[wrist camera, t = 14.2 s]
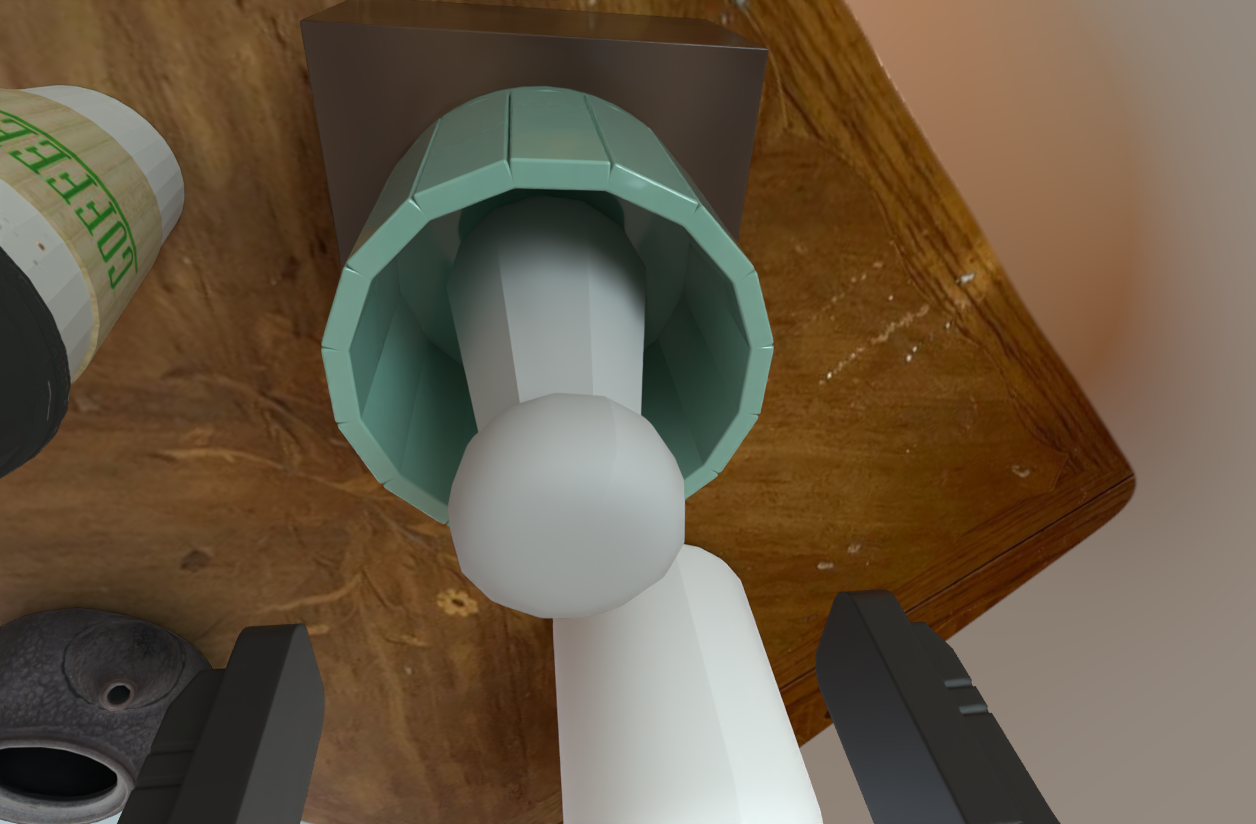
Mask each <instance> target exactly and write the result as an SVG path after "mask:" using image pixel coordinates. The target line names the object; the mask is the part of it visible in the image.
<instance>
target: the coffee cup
mask: <svg viewBox="0 0 1256 824" xmlns="http://www.w3.org/2000/svg"><path fill="white" fill-rule="evenodd" d="M184 200H185V194H184V182H183V178H182V174H181V170H180V167H179V165H178V163H177V161H176V158H175V156H174V154H173V152H172V151H171V149H170V148H169V146H168V145H167V143H166V142H165V140H164V139H163V137H162V136H161V135H160V134H159V133H158V132H157V131H156V130H155V129H154V128H153V127H152V125H151V124H150V123H149V122H147V121H146V120H145V119H144V118H143V117H141V116H140V115H139V114H138V113H136V112H135V111H134V110H133V109H131V108H129V107H128V106H126V105H124V104H123V103H121V102H119V101H118V100H116V99H114V98H111V97H109V96H107V95H104V94H102V93H100V92H97V91H94V90H90V89H85V88H81V87H77V86H63V85H56V86H47V87H38V88H29V89H20V90H16V89H3V88H0V479H1V478H2V477H4V476H5V475H7V474H9V473H10V472H12V471H13V470H15V469H17V468H18V467H20V466H22V465H23V464H24V463H26V462H27V461H29V460H31V459H32V458H34V457H35V456H36V455H37V454H38V453H39V452H40V451H41V450H42V449H43V448H44V447H45V446H46V445H47V444H48V443H49V442H50V441H51V439H52V438H53V437H54V436H55V435H56V433H57V431H58V429H59V427H60V425H61V423H62V421H63V418H64V416H65V414H66V412H67V409H68V402H69V395H70V387H71V385H72V384H73V382H74V381H75V380H76V379H77V378H78V377H79V376H80V375H81V374H82V373H83V371H84V370H85V369H86V368H87V367H88V365H89V363H90V362H91V360H92V359H93V357H94V356H95V354H96V353H97V351H98V350H99V348H100V347H101V345H102V343H103V342H104V340H105V339H106V337H107V336H108V334H109V333H110V331H111V330H112V328H113V326H114V325H115V323H116V322H117V320H118V319H119V317H120V316H121V314H122V313H123V311H124V310H125V308H126V306H127V305H128V303H129V302H130V300H131V299H132V297H133V296H134V294H135V293H136V291H137V290H138V288H139V286H140V285H141V283H142V282H143V280H144V279H145V277H146V276H147V274H148V273H149V271H150V270H151V268H152V266H153V264H154V262H155V260H156V258H157V256H158V254H159V251H160V247H161V246H162V244H163V243H164V241H165V240H166V238H167V237H168V235H169V234H170V232H171V231H172V229H173V228H174V226H175V225H176V223H177V221H178V219H179V217H180V215H181V213H182V210H183V205H184Z"/></svg>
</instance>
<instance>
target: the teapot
mask: <svg viewBox="0 0 1256 824" xmlns="http://www.w3.org/2000/svg"><path fill="white" fill-rule="evenodd" d="M200 670H212V667H211V665H210V663H209V662H208V661H207V660H206V659H205V658H204V657H203V656H202V654H201V653H200V652H199V651H198V650H197V649H196V648H195V647H194V646H193V645H192V644H191V643H189V642H187V641H186V640H184V639H183V638H181V637H180V636H178V635H176V634H175V633H173V632H171V631H169V630H167V629H165V628H163V627H160V626H158V625H156V624H154V623H151V622H148V621H145V620H141V619H138V618H135V617H132V616H129V615H123V614H116V613H110V612H105V611H100V610H95V609H84V608H71V609H58V610H49V611H41V612H38V613H34V614H31V615H28V616H24V617H21V618H19V619H17V620H14V621H12V622H10V623H8V624H6V625H4V626H2V627H0V820H4V821H8V822H13V823H17V824H90V823H95V822H99V821H101V820H104V819H106V818H109V817H111V816H114V815H116V814H118V813H119V812H121V811H122V810H123V809H124V807H125V804H126V802H127V800H128V797H129V795H130V793H131V791H132V790H134V789H135V787H136V779H137V777H138V775H139V772H140V770H141V768H142V765H143V763H144V761H145V758H146V756H147V755H149V754H150V752H151V745H152V742H153V740H154V738H155V736H156V733H157V731H158V729H159V726H160V724H161V722H162V720H163V717H164V715H165V713H166V710H167V708H168V706H169V705H170V704H171V703H172V701H173V700H174V699H175V698H176V697H177V696H178V695H179V694H180V692H181V691H182V690H183V689H184V688H185V687H186V686H187V685H188V683H189V682H190V681H191V680H192V679H193V678H194V677H195V675H196V674H197V673H198V672H199V671H200Z"/></svg>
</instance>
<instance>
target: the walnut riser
mask: <svg viewBox="0 0 1256 824" xmlns="http://www.w3.org/2000/svg"><path fill="white" fill-rule="evenodd" d="M300 26H301V32H302V37H303V43H304V49H305V55H306V61H307V67H308V73H309V79H310V85H311V91H312V97H313V103H314V109H315V114H316V120H317V126H318V132H319V138H320V144H321V150H322V156H323V162H324V168H325V174H326V180H327V186H328V192H329V197H330V203H331V209H332V215H333V221H334V227H335V233H336V239H337V245H338V251H339V257H340V263H341V269H342V270H343V267H344V265H345V263H346V261H347V259H348V257H349V255H350V253H351V251H352V249H353V247H354V245H355V243H356V241H357V239H358V237H359V235H360V233H361V231H362V229H363V227H364V225H365V223H366V221H367V219H368V217H369V215H370V213H371V211H372V209H373V207H374V205H375V203H376V201H377V199H378V197H379V195H380V193H381V191H382V189H383V187H384V185H385V183H386V181H387V179H388V177H389V175H390V173H391V172H392V170H393V168H394V166H395V165H396V164H397V163H398V162H399V161H400V160H401V159H402V158H403V157H404V155H405V153H406V152H407V151H408V150H409V148H410V147H411V146H412V145H413V143H414V142H415V141H416V140H417V138H418V137H419V136H420V135H421V134H422V133H423V132H424V131H425V130H427V129H428V128H429V127H430V126H431V125H432V124H433V123H434V122H435V121H436V120H438V119H439V118H441V117H442V116H444V115H445V114H447V113H448V112H450V111H451V110H453V109H454V108H456V107H458V106H460V105H462V104H464V103H466V102H468V101H470V100H472V99H474V98H477V97H480V96H483V95H486V94H489V93H492V92H496V91H499V90H505V89H511V88H517V87H532V86H548V87H556V88H565V89H571V90H575V91H579V92H582V93H586V94H590V95H593V96H595V97H598V98H600V99H602V100H605V101H607V102H610V103H612V104H614V105H616V106H617V107H619V108H621V109H622V110H624V111H626V112H628V113H629V114H631V115H633V116H634V117H635V118H636V119H638V120H639V121H640V122H642V123H644V124H645V125H646V126H647V127H648V128H651V129H652V131H653V132H654V133H655V134H656V136H657V137H658V138H659V139H660V140H661V141H662V142H663V143H664V145H665V146H666V147H667V148H668V150H669V151H670V153H671V154H672V155H673V156H674V157H675V159H676V160H677V161H678V162H679V164H680V165H681V166H682V167H683V168H684V170H685V171H686V172H687V173H688V175H689V176H690V177H691V179H692V180H693V181H694V183H695V184H696V186H697V187H698V188H699V190H700V191H701V193H702V194H703V195H704V197H705V198H706V200H707V201H708V203H709V204H710V205H711V207H712V208H713V210H714V211H715V212H716V214H717V215H718V217H719V218H720V219H721V221H722V222H723V224H724V225H725V226H726V228H727V229H728V231H729V232H730V233H731V235H732V236H733V238H734V239H735V240H736V242H737V243H738V236H739V230H740V224H741V218H742V211H743V205H744V199H745V193H746V187H747V180H748V174H749V168H750V162H751V155H752V149H753V143H754V137H755V131H756V124H757V118H758V112H759V106H760V100H761V93H762V87H763V81H764V75H765V68H766V62H767V56H768V48H766V47H764V46H762V45H759V44H757V43H755V42H753V41H751V40H749V39H747V38H745V37H743V36H740V35H738V34H736V33H734V32H732V31H730V30H728V29H726V28H724V27H721V26H719V25H717V24H715V23H713V22H711V21H709V20H707V19H692V18H676V17H661V16H646V15H631V14H616V13H600V12H585V11H570V10H555V9H540V8H524V7H509V6H494V5H479V4H464V3H448V2H433V1H418V0H346V1H344V2H342V3H340V4H337V5H335V6H333V7H330V8H328V9H326V10H323V11H321V12H319V13H317V14H314V15H312V16H310V17H307V18H305V19H303V20H300Z"/></svg>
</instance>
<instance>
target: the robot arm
mask: <svg viewBox="0 0 1256 824" xmlns="http://www.w3.org/2000/svg"><path fill="white" fill-rule="evenodd" d="M816 674H817V680H818V684H819V688H820V691H821V693H822V696H823V698H824V701H825V703H826V706H827V708H828V711H829V713H830V716H831V718H832V721H833V723H834V725H835V728H836V730H837V733H838V735H839V738H840V740H841V743H842V745H843V748H844V750H845V753H846V755H847V758H848V760H849V763H850V765H851V768H852V770H853V772H854V775H855V777H856V780H857V782H858V785H859V787H860V790H861V792H862V794H863V797H864V800H865V802H866V805H867V807H868V810H869V812H870V815H871V817H872V820H873V822H874V824H1060V822H1059V821H1058V820H1057V818H1056V817H1055V815H1054V814H1053V812H1052V811H1051V809H1050V808H1049V806H1048V804H1047V803H1046V801H1045V799H1044V798H1043V796H1042V795H1041V793H1040V791H1039V790H1038V788H1037V786H1036V785H1035V783H1034V781H1033V780H1032V778H1031V777H1030V775H1029V773H1028V771H1027V770H1026V768H1025V767H1024V765H1023V763H1022V762H1021V760H1020V759H1019V757H1018V755H1017V753H1016V752H1015V751H1014V749H1013V747H1012V745H1011V744H1010V742H1009V740H1008V739H1007V737H1006V736H1005V734H1004V732H1003V730H1002V729H1001V727H1000V726H999V724H998V722H997V721H996V719H995V717H994V716H993V714H992V713H989V712H988V709H987V707H988V706H987V704H986V703H985V701H984V700H983V698H982V696H981V694H980V693H979V691H978V689H977V688H976V686H974V687H973V686H972V683H971V678H970V676H969V675H968V673H967V671H966V670H965V668H964V667H963V665H962V663H961V662H960V660H959V658H958V657H957V655H956V654H955V652H954V650H953V649H952V648H951V647H950V646H949V645H948V644H947V643H946V642H945V641H944V640H943V639H942V638H941V637H940V636H938V635H937V634H936V633H935V632H934V631H933V630H932V629H931V628H930V627H929V626H928V625H927V624H925V623H924V622H913V623H910V622H909V620H908V618H907V617H906V615H905V613H904V611H903V610H902V608H901V606H900V604H899V603H898V601H897V599H896V598H895V596H894V595H893V594H892V593H891V592H890V591H888V590H885V589H880V590H864V591H848V592H840V593H838V594H837V595H836V597H835V599H834V602H833V605H832V608H831V611H830V614H829V616H828V619H827V622H826V625H825V628H824V631H823V634H822V637H821V640H820V642H819V645H818V648H817V652H816ZM323 719H324V688H323V684H322V680H321V677H320V673H319V670H318V666H317V663H316V659H315V656H314V652H313V649H312V645H311V642H310V638H309V635H308V631H307V628H306V627H305V625H304V624H302V623H300V624H283V625H267V626H251V627H246V628H244V629H243V630H242V631H241V633H240V634H239V636H238V638H237V641H236V643H235V646H234V648H233V651H232V654H231V656H230V659H229V662H228V664H227V667H226V669H212V670H200V671H199V672H198V673H197V674H196V675H195V677H194V678H193V679H192V680H191V681H190V682H189V683H188V685H187V686H186V687H185V688H184V689H183V690H182V691H181V692H180V694H179V695H178V696H177V697H176V698H175V699H174V700H173V701H172V703H171V704H170V705H169V706H168V708H167V710H166V713H165V715H164V717H163V720H162V722H161V724H160V726H159V729H158V731H157V733H156V736H155V738H154V740H153V742H152V745H151V752H150V754H149V755H147V756H146V758H145V761H144V763H143V765H142V768H141V770H140V772H139V775H138V777H137V779H136V787H135V789H134V790H132V791H131V793H130V795H129V797H128V800H127V802H126V804H125V807H124V809H123V811H122V814H121V816H120V818H119V820H118V823H117V824H300V821H301V817H302V813H303V808H304V804H305V800H306V796H307V791H308V787H309V783H310V779H311V774H312V770H313V766H314V761H315V757H316V753H317V749H318V744H319V740H320V736H321V731H322V726H323Z"/></svg>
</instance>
